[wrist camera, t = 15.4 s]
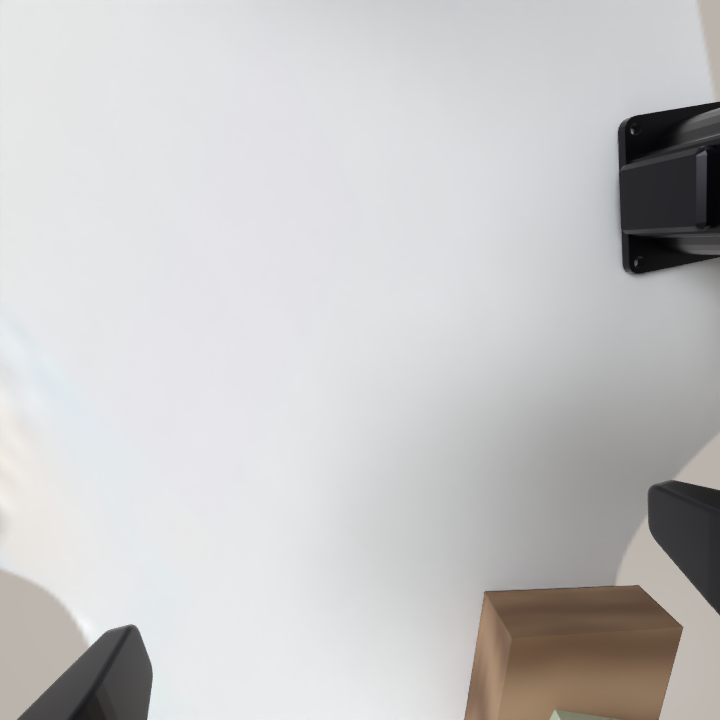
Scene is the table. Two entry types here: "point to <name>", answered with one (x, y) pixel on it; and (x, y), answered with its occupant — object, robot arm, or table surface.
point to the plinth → (572, 654)
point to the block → (575, 716)
